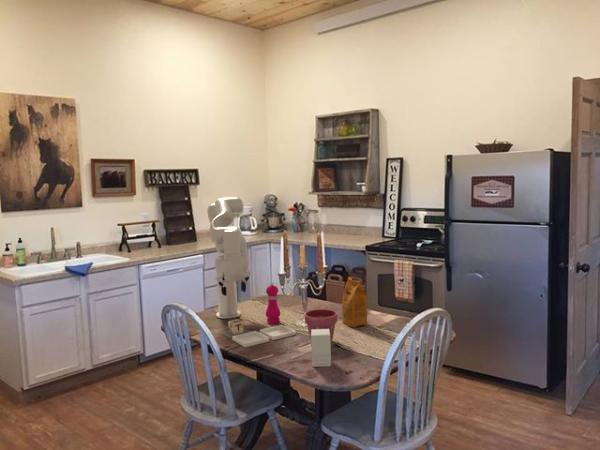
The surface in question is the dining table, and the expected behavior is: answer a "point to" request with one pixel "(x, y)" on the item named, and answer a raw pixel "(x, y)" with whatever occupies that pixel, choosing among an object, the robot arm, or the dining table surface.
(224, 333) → the pad
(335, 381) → the dining table surface
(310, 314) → the plant pot
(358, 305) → the coffee package
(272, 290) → the pepper mill
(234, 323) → the letter cube
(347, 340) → the dining table surface
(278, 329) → the tray
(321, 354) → the supplement box
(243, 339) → the tray
